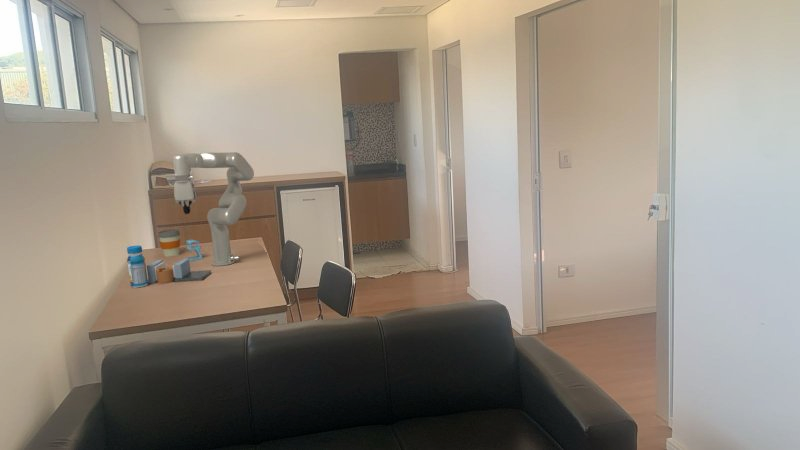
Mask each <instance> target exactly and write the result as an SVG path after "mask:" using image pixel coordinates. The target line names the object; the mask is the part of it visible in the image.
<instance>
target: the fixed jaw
mask: <svg viewBox="0 0 800 450" xmlns="http://www.w3.org/2000/svg"><path fill="white" fill-rule="evenodd" d="M165 262H166V261H164V259H156V260H155V261H153V262H151V263H149V264H148V265H147V264H146V273H147V280H148V284H155V283H157V276H156V269H159V268H164V267H165V268H166V263H165Z"/></svg>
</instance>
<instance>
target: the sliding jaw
mask: <svg viewBox="0 0 800 450" xmlns="http://www.w3.org/2000/svg"><path fill="white" fill-rule="evenodd" d="M172 267H173V274H174V277H175V278H183V277H184V276H186V275H187V274H188V273H190V272H191V264H190V261H189V259H186V258H184V259H183V258H182V259H181V260H179V261H177V262H175V263H174V264H173V265H172Z"/></svg>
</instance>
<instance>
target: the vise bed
mask: <svg viewBox="0 0 800 450" xmlns="http://www.w3.org/2000/svg"><path fill="white" fill-rule="evenodd" d="M190 271H191V270H190ZM210 274H212V270H208V269H206V270H193V271H191V272H190V273H188V274H187V275H186V276H184V277H183V278H176V279H175V281H174V283H181V282H182V283H184V282H199V281H203V280H204V279H206V278H207V277H208V276H209V275H210Z"/></svg>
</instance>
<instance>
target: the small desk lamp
mask: <svg viewBox="0 0 800 450" xmlns="http://www.w3.org/2000/svg"><path fill="white" fill-rule="evenodd" d="M185 243H186V245H187V247H186V250H188V251H194V252H195V253H196V255H197V256H191V257H186V258H185V259H189V262H193V261H197V260H200V259H203V255H202V253H201V247H200V243H201V242H200V241H199V240H195V239H188V240H186V241H185ZM194 243H195V244H194ZM192 244H194V245H195V246H192Z"/></svg>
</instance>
